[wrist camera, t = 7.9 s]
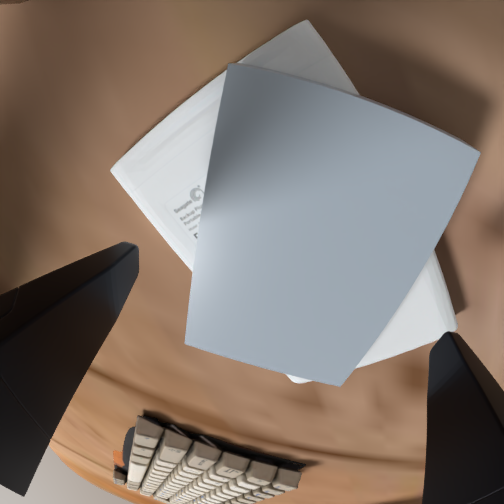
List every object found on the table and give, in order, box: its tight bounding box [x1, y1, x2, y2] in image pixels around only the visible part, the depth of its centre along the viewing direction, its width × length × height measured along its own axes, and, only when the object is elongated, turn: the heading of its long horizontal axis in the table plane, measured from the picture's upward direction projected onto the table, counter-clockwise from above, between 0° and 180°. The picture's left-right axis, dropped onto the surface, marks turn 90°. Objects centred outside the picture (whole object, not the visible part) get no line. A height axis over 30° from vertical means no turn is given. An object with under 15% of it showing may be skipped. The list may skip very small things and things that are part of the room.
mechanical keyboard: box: [113, 415, 306, 504], centre depth 32 cm, size 38×19×3 cm, turn 160°
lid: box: [185, 63, 481, 387], centre depth 10 cm, size 7×10×1 cm, turn 168°
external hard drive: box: [110, 20, 458, 383], centre depth 11 cm, size 2×8×12 cm
